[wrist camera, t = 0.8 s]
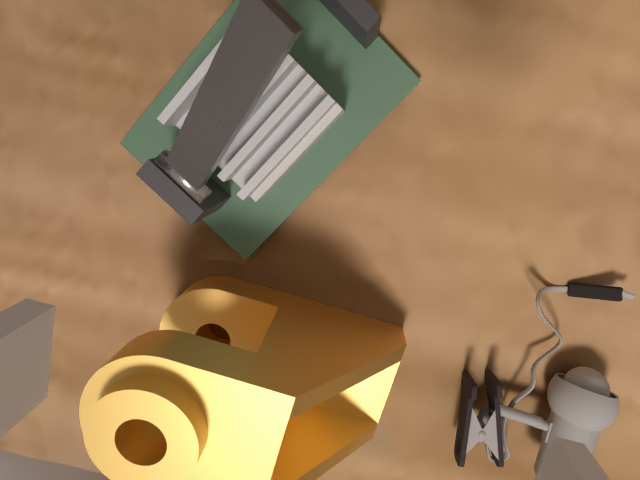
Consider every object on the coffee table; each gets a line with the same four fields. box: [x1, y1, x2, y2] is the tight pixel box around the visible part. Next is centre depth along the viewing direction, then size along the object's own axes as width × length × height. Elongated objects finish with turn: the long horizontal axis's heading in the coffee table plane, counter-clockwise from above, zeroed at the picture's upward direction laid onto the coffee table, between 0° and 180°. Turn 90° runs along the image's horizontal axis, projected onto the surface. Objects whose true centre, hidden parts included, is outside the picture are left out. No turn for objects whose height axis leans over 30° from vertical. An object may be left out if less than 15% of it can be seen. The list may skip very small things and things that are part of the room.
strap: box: [154, 0, 303, 204], centre depth 25 cm, size 15×4×1 cm
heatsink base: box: [120, 0, 421, 261], centre depth 32 cm, size 20×14×8 cm
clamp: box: [79, 276, 406, 480], centre depth 33 cm, size 20×9×16 cm, turn 74°
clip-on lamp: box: [454, 283, 636, 476], centre depth 36 cm, size 12×6×18 cm
